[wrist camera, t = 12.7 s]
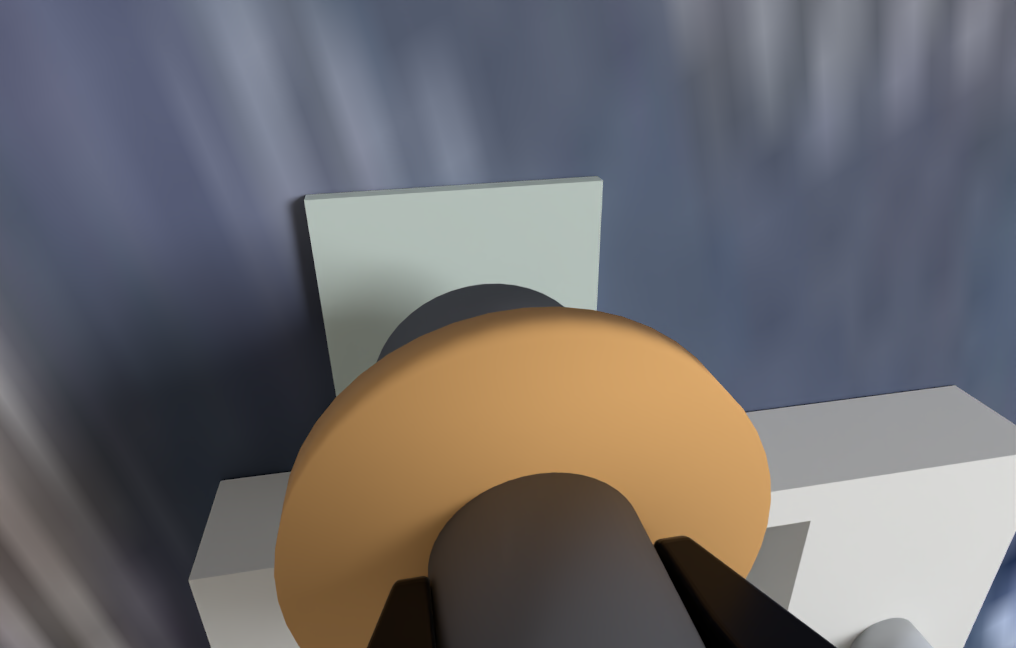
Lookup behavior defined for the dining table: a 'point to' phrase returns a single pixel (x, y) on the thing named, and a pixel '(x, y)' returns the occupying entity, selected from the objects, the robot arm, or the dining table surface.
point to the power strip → (790, 531)
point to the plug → (518, 481)
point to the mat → (445, 253)
